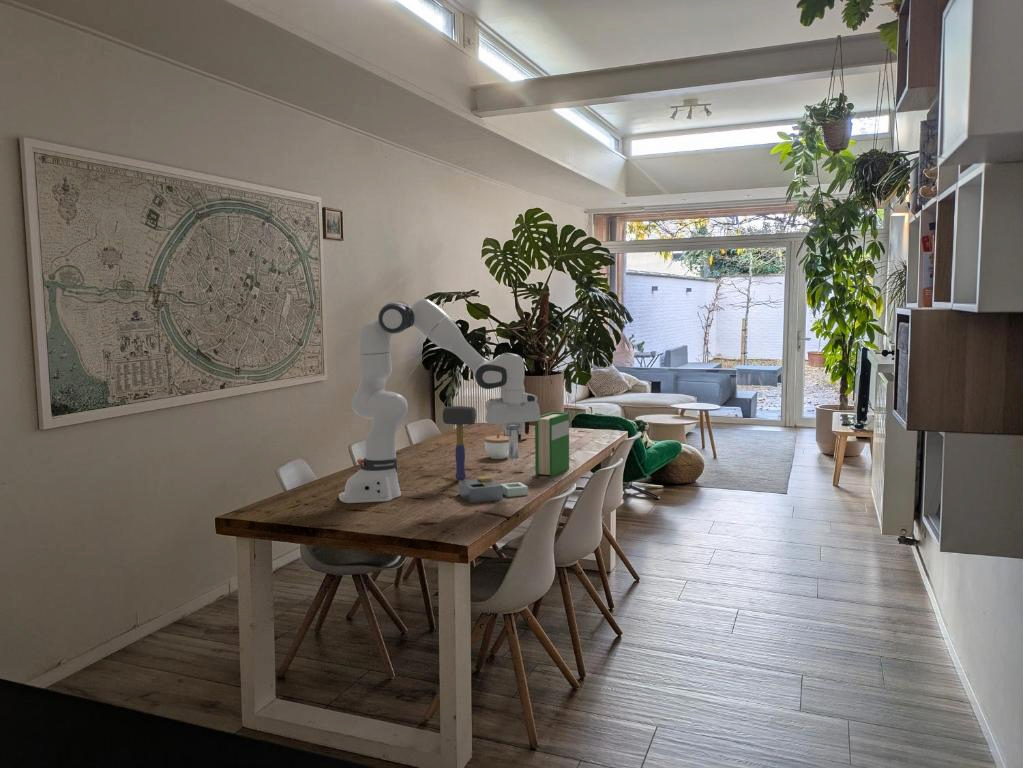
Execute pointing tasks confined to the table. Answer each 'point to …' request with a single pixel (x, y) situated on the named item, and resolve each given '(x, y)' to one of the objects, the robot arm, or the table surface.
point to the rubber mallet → (459, 432)
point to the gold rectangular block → (484, 478)
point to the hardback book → (552, 443)
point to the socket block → (480, 490)
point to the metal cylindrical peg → (513, 441)
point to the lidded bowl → (497, 446)
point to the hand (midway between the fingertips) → (513, 434)
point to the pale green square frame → (514, 489)
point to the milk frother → (518, 428)
